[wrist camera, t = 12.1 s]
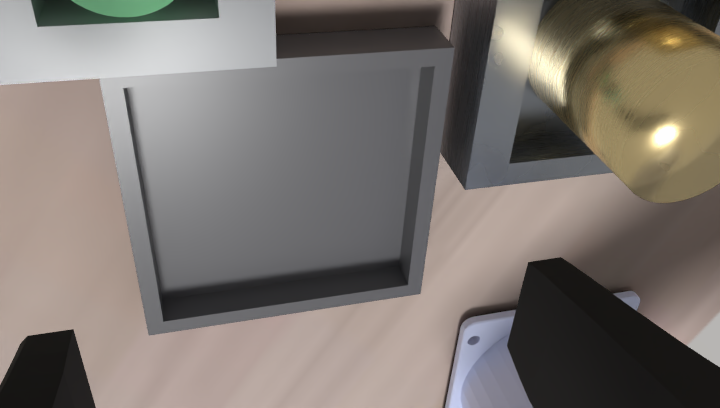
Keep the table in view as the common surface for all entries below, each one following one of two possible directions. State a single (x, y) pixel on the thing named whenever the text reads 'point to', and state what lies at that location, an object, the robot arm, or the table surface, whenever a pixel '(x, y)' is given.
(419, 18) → the table surface
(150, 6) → the button
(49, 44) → the grey square socket block
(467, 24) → the grey shallow tray
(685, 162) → the seated billet
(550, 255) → the table surface
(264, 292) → the grey square tray
